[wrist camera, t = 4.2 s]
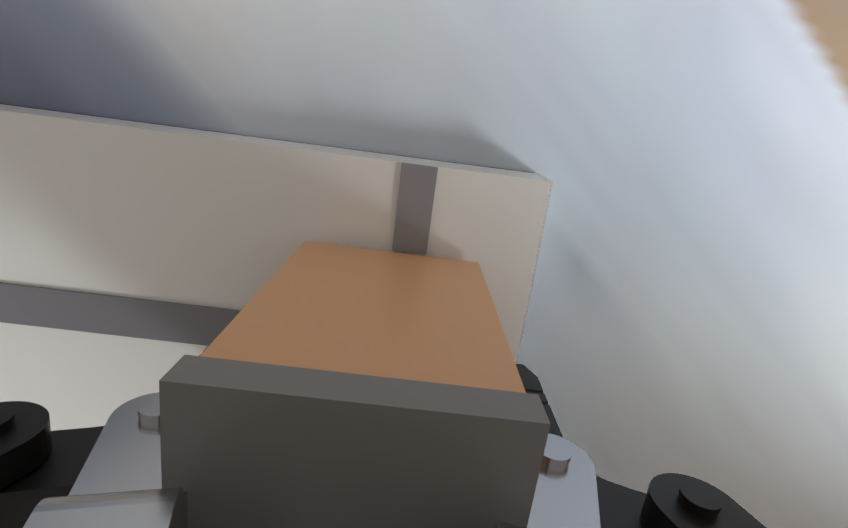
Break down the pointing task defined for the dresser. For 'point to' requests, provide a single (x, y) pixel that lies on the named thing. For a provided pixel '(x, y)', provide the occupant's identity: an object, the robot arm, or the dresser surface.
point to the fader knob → (355, 402)
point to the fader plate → (208, 242)
